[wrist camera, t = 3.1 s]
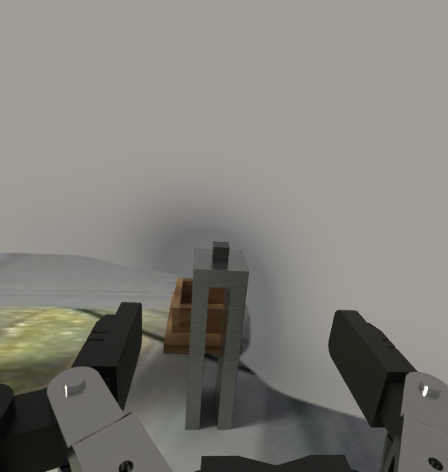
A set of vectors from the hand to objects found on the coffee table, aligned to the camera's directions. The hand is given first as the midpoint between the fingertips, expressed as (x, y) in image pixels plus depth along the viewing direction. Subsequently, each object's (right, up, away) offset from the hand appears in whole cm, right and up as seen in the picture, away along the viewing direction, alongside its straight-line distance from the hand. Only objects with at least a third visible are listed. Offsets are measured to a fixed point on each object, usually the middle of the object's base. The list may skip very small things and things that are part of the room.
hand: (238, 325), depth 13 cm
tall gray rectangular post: (-2, -13, +16) cm, 21 cm away
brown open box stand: (-3, -8, +29) cm, 30 cm away
